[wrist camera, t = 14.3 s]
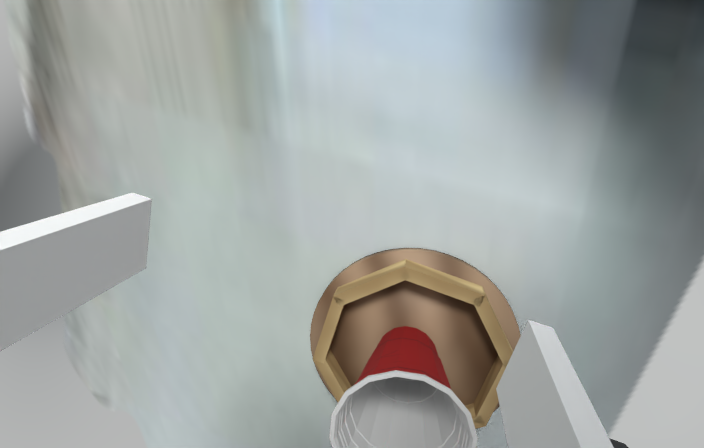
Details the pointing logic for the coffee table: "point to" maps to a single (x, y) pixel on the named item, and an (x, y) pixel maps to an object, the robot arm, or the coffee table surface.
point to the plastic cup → (402, 400)
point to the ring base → (417, 322)
